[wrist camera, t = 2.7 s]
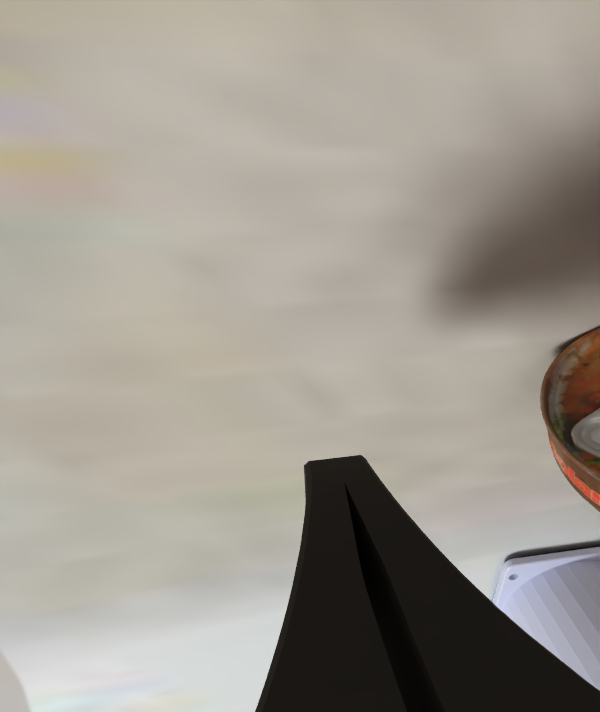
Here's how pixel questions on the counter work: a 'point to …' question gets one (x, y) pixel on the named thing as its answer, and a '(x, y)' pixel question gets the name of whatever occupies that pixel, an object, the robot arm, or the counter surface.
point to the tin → (575, 414)
